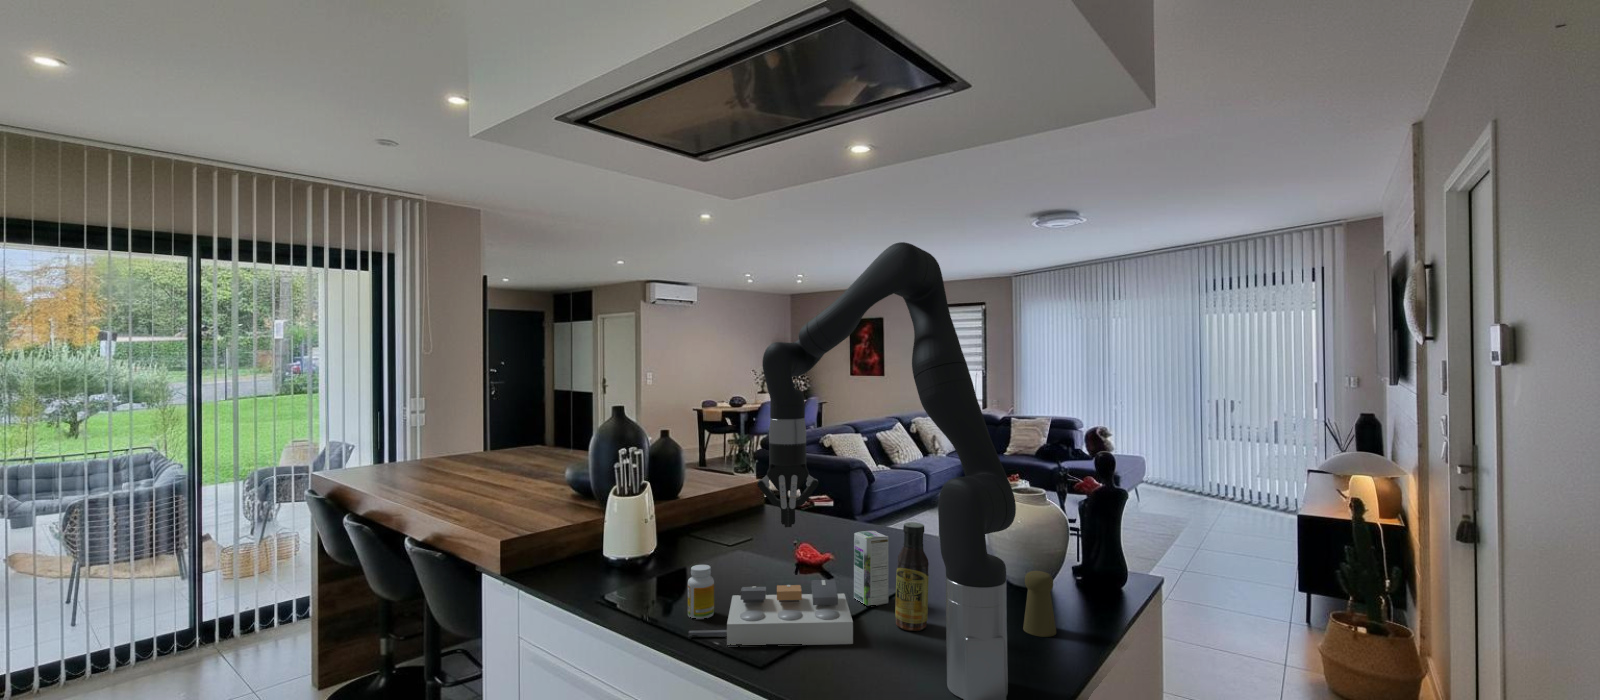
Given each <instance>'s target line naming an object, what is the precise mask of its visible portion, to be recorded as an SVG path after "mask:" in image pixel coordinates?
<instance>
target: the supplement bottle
mask: <svg viewBox="0 0 1600 700" xmlns="http://www.w3.org/2000/svg"><path fill="white" fill-rule="evenodd" d="M711 569H712V568H711V566H710V565H708V564H696V565H693V566H692V567H691V568H690V574H691V577H690V578H688V580H687V616H688V617H689V618H690V617H691V618H690V619H692V618H696V619H695V620H705V619H704V618H707V619H709V618H711V617H713V616H714V614H715V579H714V578H713V577H712V576H711V573H712V571H711Z"/></svg>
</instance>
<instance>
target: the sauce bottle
mask: <svg viewBox="0 0 1600 700" xmlns="http://www.w3.org/2000/svg"><path fill="white" fill-rule="evenodd" d="M902 531H903V532H904V533H903V544H902V545H903V546H902V549H901V550H900V552H899V554H898V557H897V563H896V564H897V565H896V579H895V582H896V583H895V610H894V611H895V612H894V614H895V615H894V616H895V624H896V626H897V627H899V628H900V629H901V630H905V631H912V632H913V631H915V632H920V631H922V630H924V629H925V628H927V623H928V618H929V617H928V616H929V615H928V613H929V609H928V608H929V579H930V577H929V576H930V574H929V559H928V557H927V555H926V553H925V551H924V533H925V525H924V524H923V523H921V522H914V521H913V522H912V521H909V522H904V523H903V528H902Z"/></svg>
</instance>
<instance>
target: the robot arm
mask: <svg viewBox="0 0 1600 700" xmlns="http://www.w3.org/2000/svg"><path fill="white" fill-rule="evenodd" d="M893 294H894V295H897V296H899V297H902V298H903V301H904V302H905V305H906V307H907V309H908V313H909V316H910V319H911V321H912V326H913V334H914V335H913V336H914V338H913V347H912V355H911V356H912V357H911V368H912V370H911V371H912V376H913V380H914V383H915V387H916V391H917V395H918V398H919V400H920V404H921V405H922V408H923V409H924V411H925V413H926V414H927V415H928V417H929V418H930V419H931V421H932V422H933V423H934V424H935V426H936V427H937V428H938V430H940V432H941V433H942V434H943V435H944V436H945V438H947V440H948V441H949V442H950V443H951V445H952V446H953V448H954V450H955V451H956V452H955V453H956V454H957V456H958V458H959V460H960V464H961V467H962V470H963V474H964V476H957V477H954V478H951V479H948V480H947V481H946V482H945V483H944V484H943V485H942V487H941V490H940V491H939V498H938V503H937V505H938V507H937V508H938V509H937V510H938V511H937V512H938V526H939V527H938V529H939V545H940V553H941V559H942V560H943V564H944V567H945V614H946V615H945V620H946V622H945V625H946V627H945V628H946V629H945V632H946V634H945V635H946V636H945V637H946V686H947V689H948V691H949V692H950V693H952V694H953V695H955V696H956V697H958V698H960V699H961V700H962V699H963V700H1007V696H1008V692H1009V690H1008V689H1009V688H1008V687H1009V685H1008V684H1009V679H1008V676H1009V675H1008V674H1009V673H1008V672H1009V671H1008V631H1007V630H1008V627H1007V626H1008V622H1007V619H1008V618H1007V611H1008V610H1007V567H1006V564H1005V561H1003V560H1002V559H1001V558H1000V557H998V556H996V555H992V554H990V553H988V550H987V540H986V539H987V538H986V535H989V534H993V533H998V532H1002V531H1004V530H1007V529H1008V528H1010V527H1011V526H1012V524H1013V522H1014V521H1015V518H1016V513H1017V512H1016V511H1017V505H1016V499H1015V494H1014V492H1013V488H1012V486H1011V484H1010V480H1009V478H1008V476H1007V474H1006V471H1005V469H1004V466H1003V464H1002V462H1001V460H1000V457H999V456H998V452H997V450H996V448H995V445H994V444H993V440H992V438H991V436H990V433H989V430H988V429H989V428H988V427H987V424H986V420H985V418H984V416H983V412H982V409H981V407H980V404H979V403H980V402H979V401H978V397H977V394H976V390H975V387H974V383H973V380H972V377H971V373H970V370H969V367H968V363H967V361H966V357H965V355H964V352H963V349H962V345H961V343H960V340H959V337H958V334H957V331H956V328H955V325H954V323H953V319H952V316H951V312H950V308H949V304H948V300H947V299H948V298H947V293H946V289H945V283H944V278H943V274H942V270H941V267H940V264H939V262H938V260H937V258H935V256H934V255H932V254H931V253H929V251H926V250H924V249H922V248H920V247H919V246H916V245H914V244H912V243H908V242H904V241H903V242H901V241H900V242H897V243H894V244H891V245H890V246H888V247H887V248H885V249H884V250H883V251H882V252H881V253H880V254H879V255H878V256H877V257H876V258H875V259H874V260H873V261H872V262H871V263H870V265H868V266H867V268H865V270H864V271H863V272H862V273H861V274H860V276H858V277H857V278H856V280H854V281H853V283H852V284H851V285H850V286H849V287H848V288H847V289H846V290H845V291H844V292H843V293H842V294H841V295H840V296H839V297H838V298H836V299H835V301H833V302H832V303H831V304H830V305H829V306H827V307H826V308H825V309H824V310H822V311H821V312H820V313H818V314H817V315H816V316H815V317H813V318H811V320H809V321H808V322H807V323H805V324H804V325H803V326H802V327H801V328H800V330H799V332H798V339H797V340H795V341H794V342H782V341H776V342H773V343H771V344H768V346H767V347H766V349H765V351H764V353H763V356H762V371H763V376H764V380H765V383H766V384H765V385H766V388H767V391H768V395H769V398H770V402H769V405H770V406H769V407H770V408H769V409H770V410H769V413H770V414H769V416H770V418H769V419H770V420H769V428H768V431H769V432H768V442H769V443H768V449H769V450H768V452H769V453H768V456H769V457H768V458H769V460H768V461H769V462H768V464H769V465H768V469H767V472H766V474H765V476H764V477H763V478H761V479H758V481H757V487H758V488H759V490H760V491H761V492H762V493H763V495H764V496H765V497H766V498H767V499H768V501H769V502H770V503H771V505H773V506H774V507H778V508H779V509H780V523H781V524H782V525H784V528H792V527H793V526H792V525H795V524H796V508H797V507H799V506H804V504H805V503H806V502H807V501H808V499H809V498H810V497H811V495H812V494H813V493H814V492H815V490H816V489H817V487H818V486H819V480H818V479H817V478H814V477H813V476H811V475H810V471H809V469H808V467H807V426H806V420H805V419H806V418H805V415H806V413H805V412H806V411H805V408H806V407H805V394H804V392H803V391H802V390H800V389H798V388H796V387H795V384H794V380H793V378H794V377H795V378H796V377H797V378H798V377H800V376H802V375H805V374H807V373H808V372H810V371H811V370H812V369H813V368H814V367H815V366H816V364H817V363H819V361H820V360H821V359H823V357H824V355H825V354H826V353H828V352H830V351H831V350H832V349H834V348H835V347H838V345H840V344H841V343H842V342H843V341H845V340H847V338H849V336H850V335H851V334H852V333H853V332H855V330H856V328H857V326H858V325H859V324H860V322H861V320H862V318H863V316H864V315H865V314H866V313H867V311H868V310H870V308H872V307H873V306H874V305H875V304H877V303H879V302H880V301H882V300H884V299H885V298H887V297H889V296H891V295H892V296H893ZM769 481H770V482H771V484H772V485H773V486H774V488H775V489H776V490H778V492H779V496H780V498H778V497H777V496H776V495H775V494H774V492H773V491H772V490H771V488H770V485H771V484H770V482H769ZM805 482H806V483H805ZM803 484H805V485H806V488H805V489H804V490H803V492H801V494H800V496H799V497H798V498H797V491H798V490H800V488H801V487H802V486H803ZM787 491H789V501H788V503H787Z"/></svg>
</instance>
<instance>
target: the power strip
mask: <svg viewBox="0 0 1600 700" xmlns="http://www.w3.org/2000/svg"><path fill="white" fill-rule="evenodd" d="M837 595H838V605H813V599H812V593H809V594H808V593H802V600H799V602H779V600H777V594H766V599H764V602H761V603H743V600H741V594H740V595H734V594H733V595H732V596H731V601H730V605H729V606H730V608H729V612H728V616H727V617H728V618H727V622H726V629H713V630H712V629H711V630H710V629H709V630H708V629H707V630H705V629H704V630H703V629H702V630H701V629H700V630H689V631H688V637H689V636H692V635H698V636H727V637H726V646H727V645H730V644H731V645H736V644H742V645H766V644H802V645H801V646H806V645H807V646H812V645H813V646H814V645H818V646H820V645H823V646H824V645H826V646H827V645H854V621H853V618H852V614H851V611H850V608H849V603H848V601H847V597H846V594H845V593H837Z"/></svg>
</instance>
